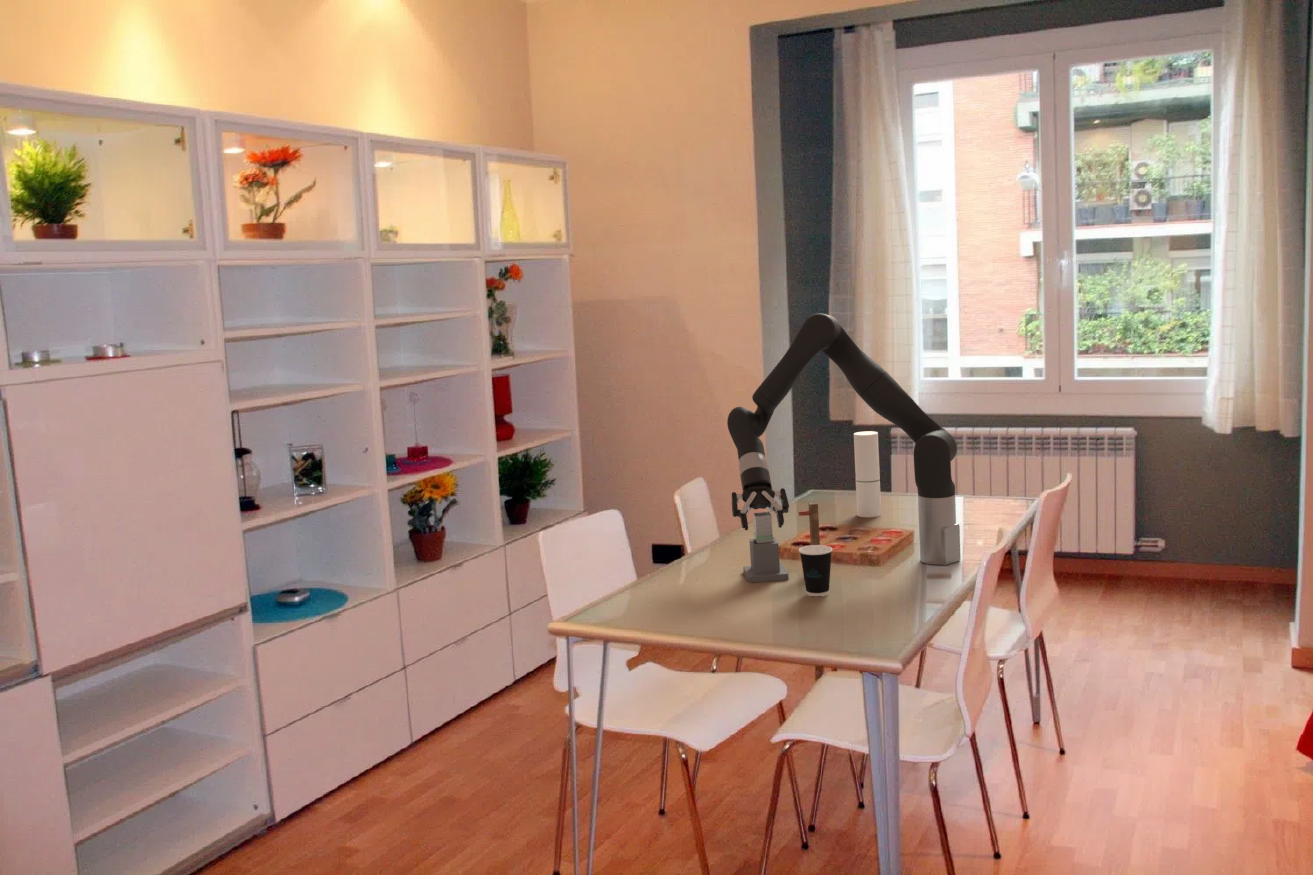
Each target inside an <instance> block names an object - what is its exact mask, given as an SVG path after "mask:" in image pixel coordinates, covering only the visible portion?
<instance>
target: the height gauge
mask: <svg viewBox="0 0 1313 875" xmlns="http://www.w3.org/2000/svg"><path fill="white" fill-rule="evenodd" d="M798 516H799V517H803V516H808V518H809V536H810V537H809V538H810V539H809V540H810V545H821V539H820V523H819V522H820V520H819V519H820V518H819V516H820V515H819V504H818V502H808V510H799V511H798Z"/></svg>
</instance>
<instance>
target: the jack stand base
mask: <svg viewBox="0 0 1313 875" xmlns="http://www.w3.org/2000/svg"><path fill="white" fill-rule="evenodd" d="M748 540H749V554H750V565H745V566H743V568H742V569H743V574H744V576H745V578H746V579H747V582H748V583H749V584H751V583H750V582H754V583H763V582H765V581H766V582H776V581H775V580H777V581H787V580H790V579H789V573H788V570H787V569H786V568H785V566H784V565H783V563H782V562H780V549H779V548H780V547H779V542H778V541H777V539H776V537H774V536H773V543H766V544H755V538H749V539H748Z"/></svg>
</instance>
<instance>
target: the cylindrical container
mask: <svg viewBox="0 0 1313 875" xmlns="http://www.w3.org/2000/svg"><path fill="white" fill-rule="evenodd" d="M853 448H854V451H853V452H854V469H855V470H854V471H855V472H854V473H855V495H856V496H855V497H856V515H857V517H861V518H876V517H880V516H881V515H882V505H881V504H882V503H881V501H882V500H881V481H880V480H881V479H880V478H881V477H880V474H881V473H880V452H879V432H878V431H874V430H870V431H868V430H867V431H857V432H854V433H853Z"/></svg>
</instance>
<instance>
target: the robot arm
mask: <svg viewBox="0 0 1313 875" xmlns="http://www.w3.org/2000/svg"><path fill="white" fill-rule="evenodd" d="M820 352H822V353H823V354H825V356H827V357H828V358H829V359H830V360H831V361H832V362H833V363H834V364H835V365H836V366H838V368H839V369H840V370H841V371H842V373H843V375H844V376H845V378H846V380H847V381H848V383H849V384H850V386H851V387H852V388H853V389H854V392H855V393H856V394H857V395H858V396H859V397H860V399H862V401H863V402H865V403H866V405H867V406H868V407H869V408H870V409H872V411H874V412H875V413H876V414H877V415H879V416H881V417H882V418H883V419H885V420H887V421H889V422H891V423H892V424H894V425H895V426H897V427H898V428H900V429H901V430H902V431H904V433H906V435H907V436H908V437H909V438H910V439H911V441H913V442H914V447H913V469H914V471H913V472H914V481H915V482H914V483H915V486H916V488H917V508H918V513H917V514H918V531H919V532H918V533H919V534H918V535H919V538H918V539H919V560H920V562H921V563H924V564H927V565H936V566H937V565H938V566H940V565H941V566H948V565H951V564H954V563H957V562H959V561H961V533H960V532H961V531H960V530H961V528H960V527H961V526H960V524H959V523H957V511H956V508H957V506H956V505H957V504H956V485H955V482H954V481H953V478H952V464H951V462H952V461H953V460H954V459H955V457H956V455H957V452H958V446H957V442H956V439H955V438H954V436H952V434H951V433H950V432H948V431H947V430H946V429H945V428H943V427H942V426H941V425H940V424H939V423H938V422H937V421H935V419H933V418H932V417H930V415H928V414H927V413H926V412H925V411H924V410H923V409H922V408H921V407H920V406H919V405H918V404H917V402H916V401H915V400H914V399H913V398H912V396H910V394H908V392H906V391H905V389H904V388H902V386H901V385H900V384H899V383H898V382H897V381H896V380H895V378H894V377H892V375H890V374H889V373H888V371H886V370H885V369H884V368H883V367H882V366H881V365H880V364H879V363H877V361H876V360H874V359H873V357H871V356H870V355H868V354H867V353H866V352H865V351H864V350H863V349H861V348H860V347H859V346H858V344H857V343H856V342H855V341H854V339H852V337H851V336H850V334H848V332H847V331H846V329H845V328H844V327H843V326H842V324H841V323H840V322H839V320H837V319H836V318H835V317H834V316H832V315H829V314H827V313H822V312H821V313H820V312H819V313H813V314H811V315H810V316H808V317H807V318H806V319H805V320H804V322H803V324H802V325H801V327H800V329H799V331H798V333H797V334H796V336H795V338H794V340H793V341H792V342H791V344H790V345H789V348H788V349H787V351H786V352H785V354H784V355H783V356H782V358H781V359H780V360H779V362H778V363H777V364H776V365H775V366H774V368H772V370H771V372H770V373H769V374H768V375H767V377H766V378H765V379H764V380H763V381H762V383H761V384H760V385H759V386H758V387H757V388H756V390H755V391H754V393H753V394H752V395H751V396H752V398H751V399H752V401H753V403H754V404H755V405H756V406H757V408H756V410H755V411H754V412H753V411H752V410H750V409H748V408H747V407H743V406H736V407H733V409H731V410H730V412H729V414H728V416H727V421H726V422H727V423H726V424H727V429H728V433H729V435H730V438H731V439H732V442H733V444H734V446H735V448H736V449H737V451H736V452H737V458H738V469H739V470H738V471H739V477H740V483H741V488H742V490H741V491H742V493H737V492H735V491H732V492H731V512H732V517H734V518H737V517H738V518H740V522H741V523H740V524H741V525H740V526H741V528H742V529H744V531H748V530H749V523H748V516H747V515H748V514H749V512H750V511H751V509H753V510H759V509H763V510H765V509H767V508H768V509H769V510H770V511H771V512H774V513H775V514H776V519H777V527H778V528H780V529H781V528H783V526H784V524H785V518H784V514H787V513H789V508H790V504H789V501H788V500H789V499H788V495H787V492H786V489H785V488H780V490H775V491H774V489H773V486H772V481H771V480H772V479H771V475H770V470H769V465H768V464H769V463H768V461H767V458H766V452H765V446H764V443H763V441H762V439H761V438H760V437H761V436H763V434H764V433H765V432H766V430H767V427H768V425H769V423H770V421H771V418H772V417H773V415H774V412H775V410H776V408H778V406H779V405H780V403H782V401H783V400H784V399H785V397H786V396H787V395H788V393H790V391H791V389H792V388H793V387H794V385H795V383H796V381H797V379H798V378H799V376H800V375H801V373H802V371H803V370H804V369H805V367H806V366H807V365H808V364H809V362H810V361H811V360H812V359H813V358H814V357H815V356H816V355H817V354H818V353H820ZM775 497H777V499H778V500H780V501H781V505H782V506H781V505H780V504H779V503H778V502H777V500H775ZM741 500H742V501H743V502H744V505H743V506H742V508H741V509H739V508H738V506H739V505H738V503H740V501H741Z"/></svg>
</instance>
